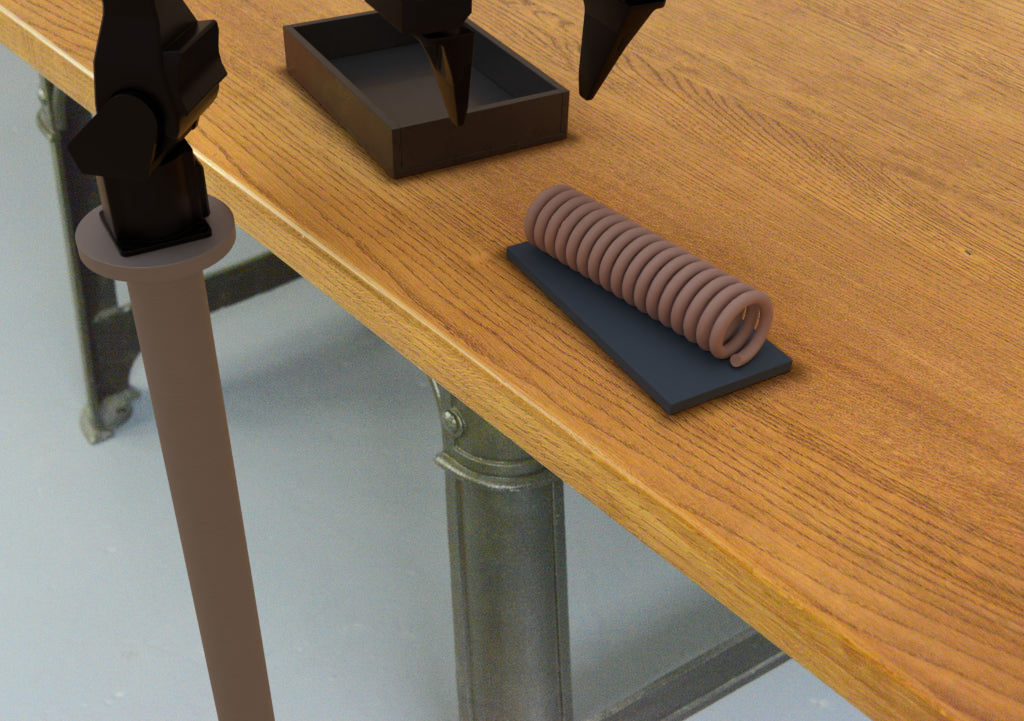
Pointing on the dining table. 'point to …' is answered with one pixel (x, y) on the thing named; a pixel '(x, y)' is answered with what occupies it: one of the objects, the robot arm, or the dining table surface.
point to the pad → (645, 338)
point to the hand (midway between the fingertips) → (522, 110)
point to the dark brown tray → (421, 93)
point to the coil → (650, 273)
